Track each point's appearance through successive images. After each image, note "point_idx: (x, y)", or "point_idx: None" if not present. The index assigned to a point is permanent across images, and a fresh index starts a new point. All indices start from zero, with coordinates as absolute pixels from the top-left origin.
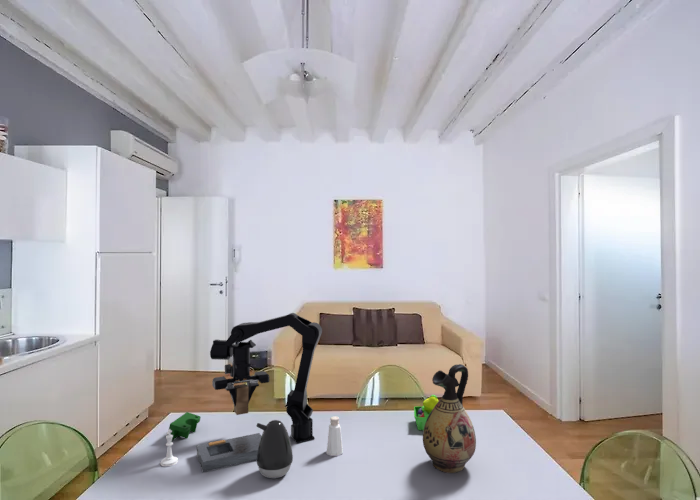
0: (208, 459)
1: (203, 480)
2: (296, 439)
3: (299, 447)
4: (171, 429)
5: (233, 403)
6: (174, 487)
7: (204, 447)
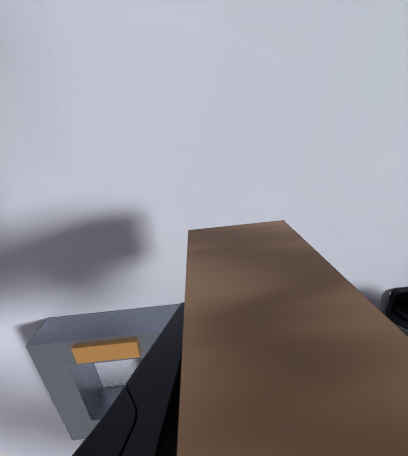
0: (87, 432)
1: None
2: None
3: None
4: None
5: (174, 314)
6: (26, 439)
7: (61, 367)
